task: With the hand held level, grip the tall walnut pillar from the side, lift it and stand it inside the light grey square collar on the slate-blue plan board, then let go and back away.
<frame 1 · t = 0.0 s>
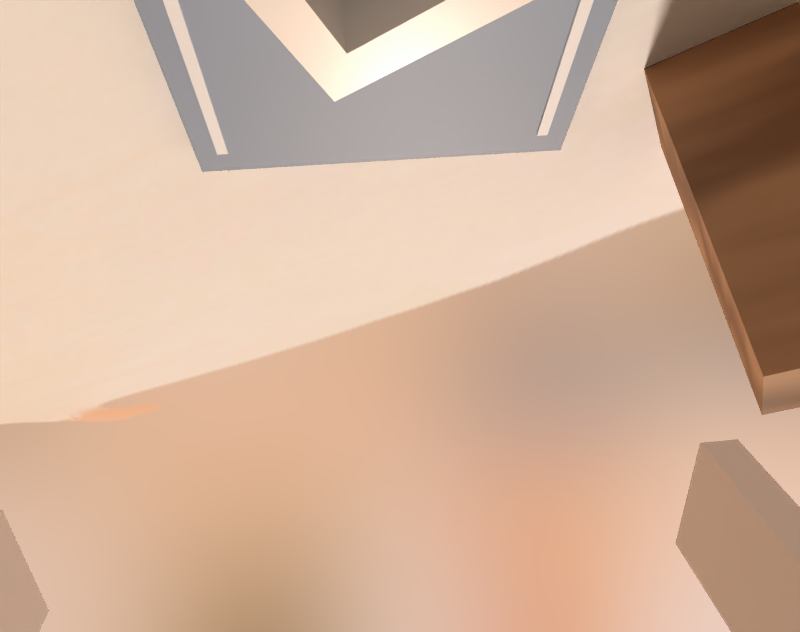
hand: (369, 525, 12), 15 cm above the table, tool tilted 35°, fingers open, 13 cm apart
pillar: (721, 83, 23), on the table
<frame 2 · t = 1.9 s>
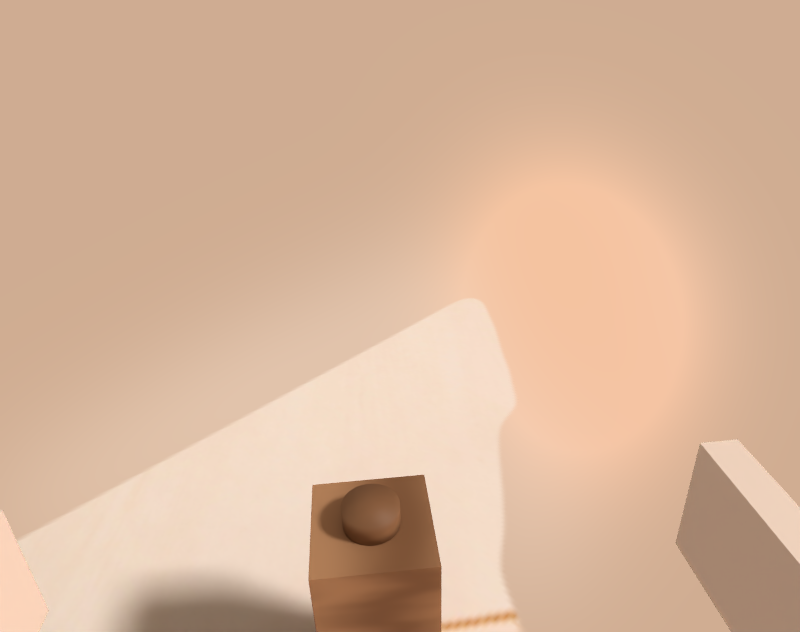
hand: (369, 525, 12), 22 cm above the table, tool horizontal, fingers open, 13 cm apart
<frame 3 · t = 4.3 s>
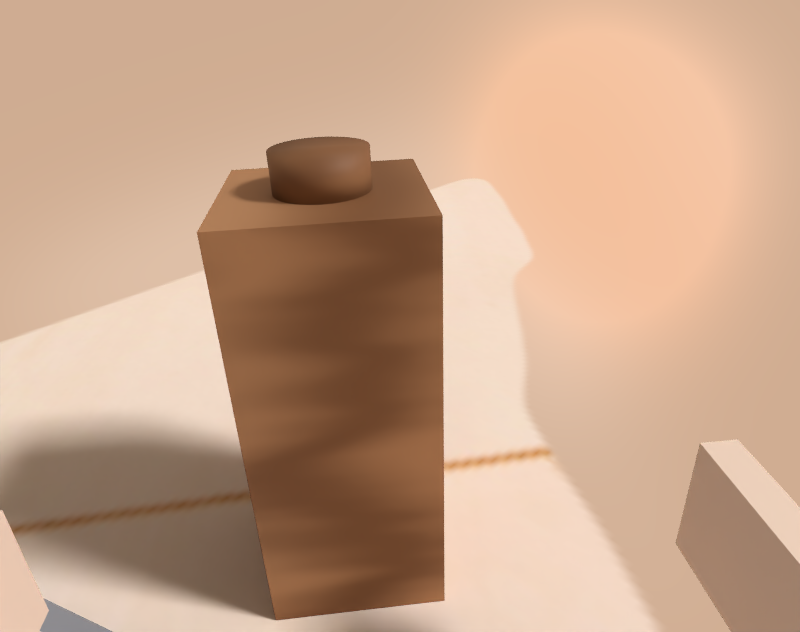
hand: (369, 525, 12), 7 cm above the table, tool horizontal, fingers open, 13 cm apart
pillar: (357, 543, 20), on the table
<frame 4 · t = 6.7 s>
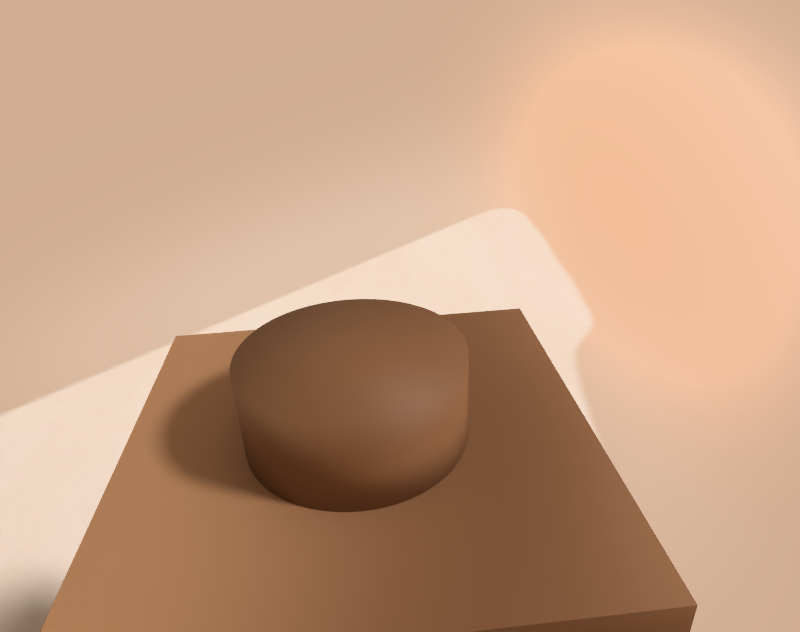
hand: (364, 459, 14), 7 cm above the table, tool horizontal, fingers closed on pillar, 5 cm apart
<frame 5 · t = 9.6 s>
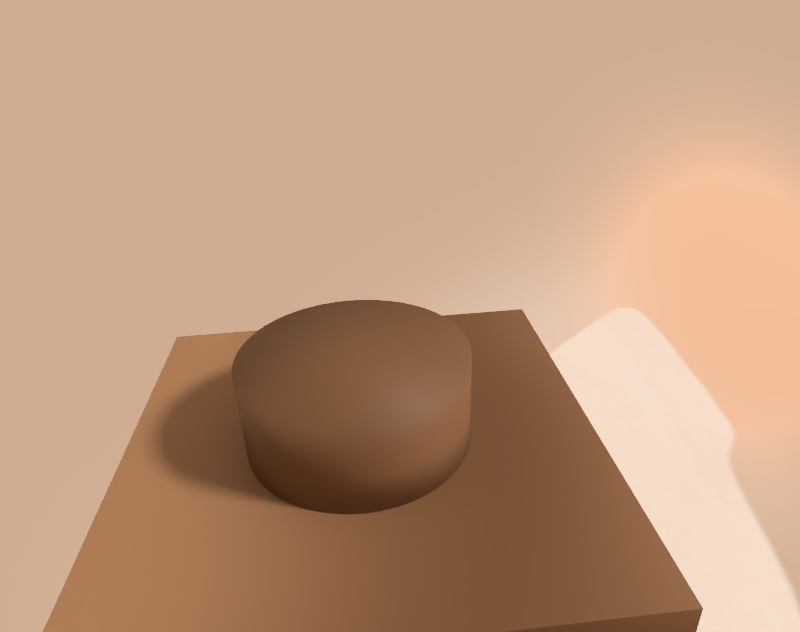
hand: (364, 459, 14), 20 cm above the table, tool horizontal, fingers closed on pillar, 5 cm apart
when the fingers open (9 cm above the table, at t = 12.7 s): pillar drops 1 cm, resting on plan board.
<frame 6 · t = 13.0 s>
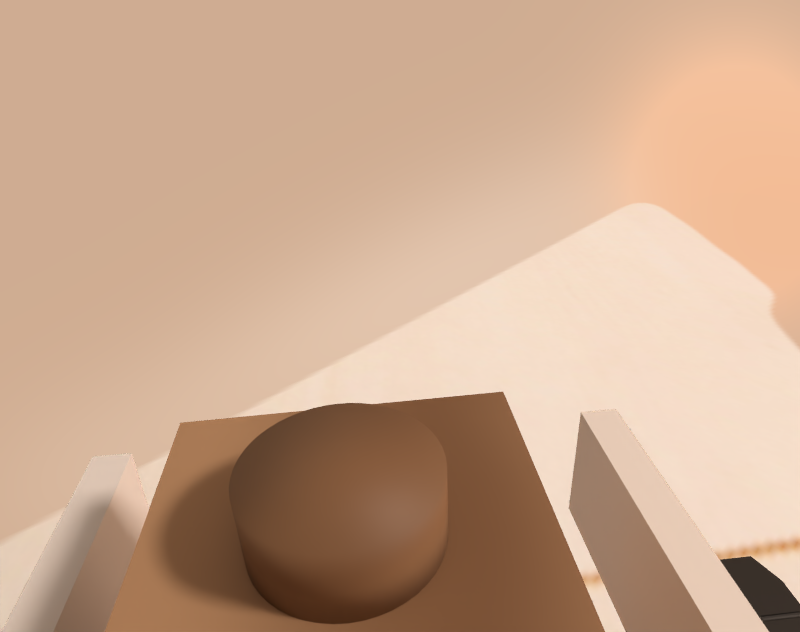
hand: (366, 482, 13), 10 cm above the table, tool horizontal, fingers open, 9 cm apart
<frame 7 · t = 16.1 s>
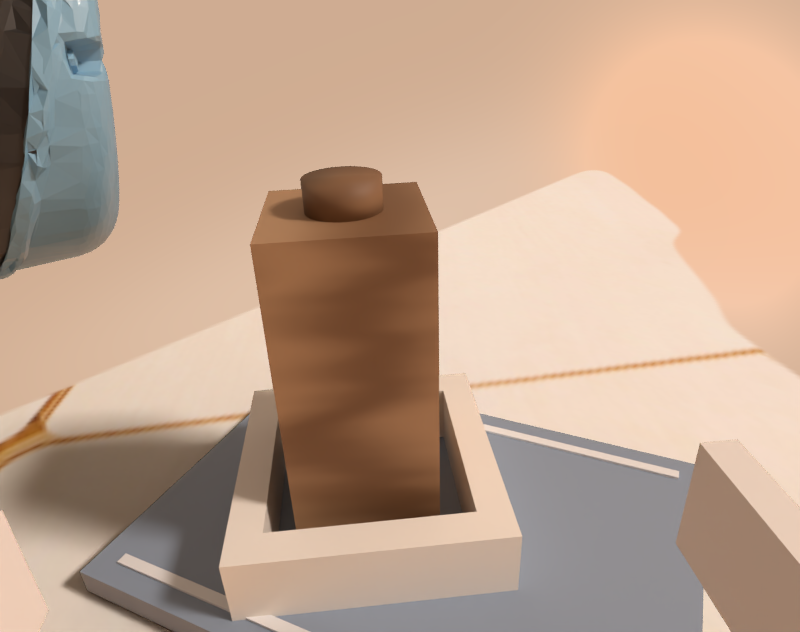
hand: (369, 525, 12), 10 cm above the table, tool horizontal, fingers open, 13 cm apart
plan board: (416, 534, 24), on the table
socket collar: (371, 519, 25), resting on plan board
pillar: (368, 502, 24), point 1 cm above the table, touching plan board
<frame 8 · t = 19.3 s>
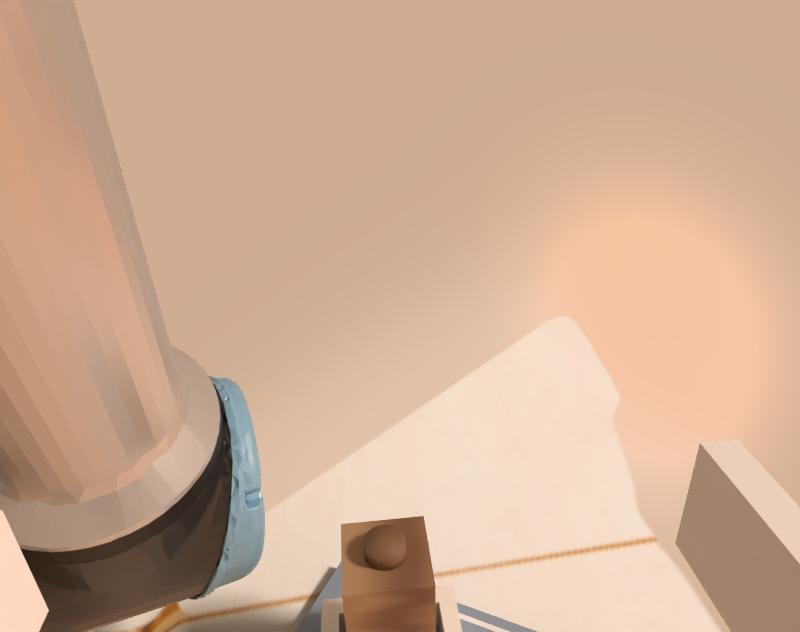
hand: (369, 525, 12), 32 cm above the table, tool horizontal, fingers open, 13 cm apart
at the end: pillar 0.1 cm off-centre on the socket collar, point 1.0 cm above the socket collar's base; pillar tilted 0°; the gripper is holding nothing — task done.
